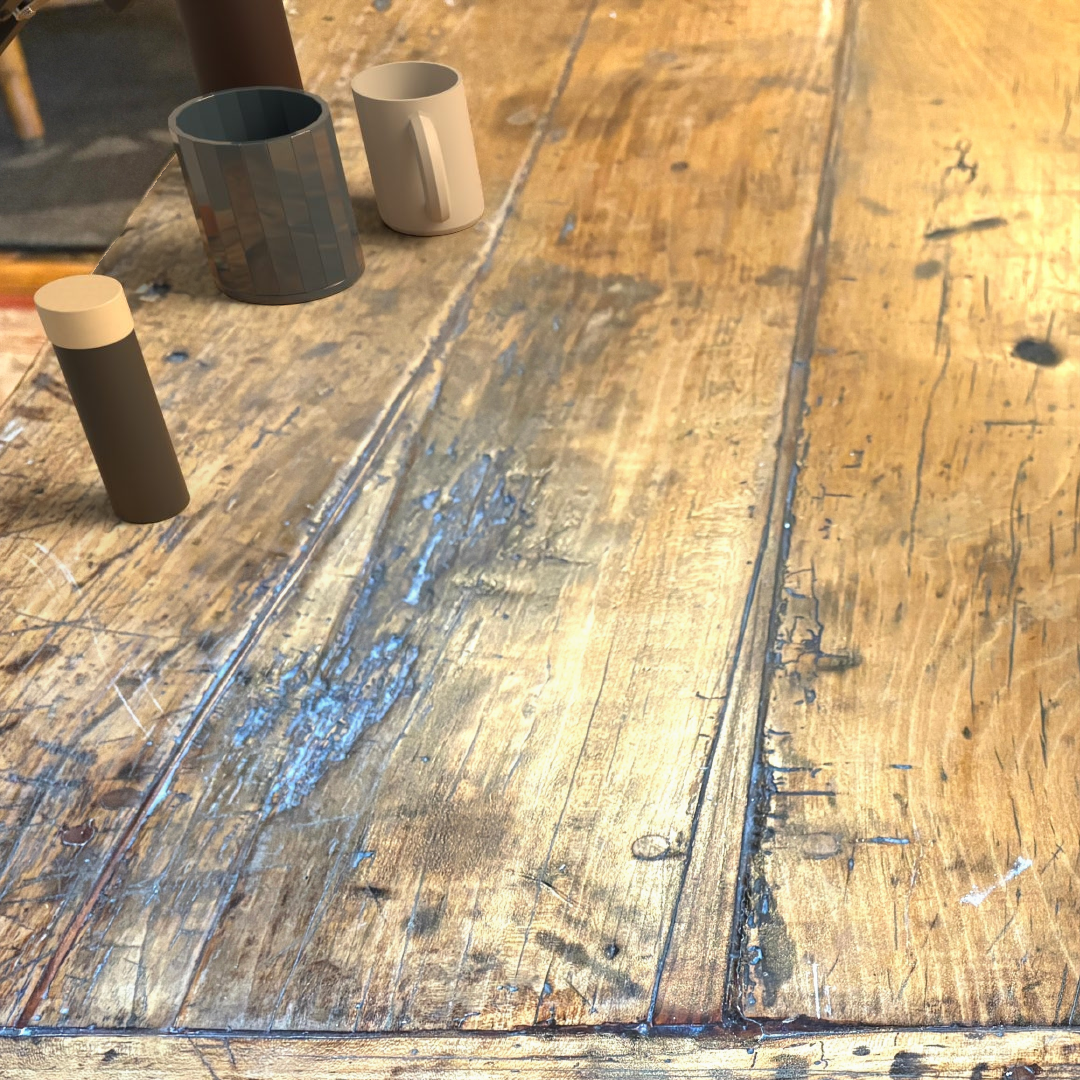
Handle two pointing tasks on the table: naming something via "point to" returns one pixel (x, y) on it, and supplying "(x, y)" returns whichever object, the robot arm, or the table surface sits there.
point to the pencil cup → (268, 193)
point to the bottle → (239, 44)
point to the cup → (419, 146)
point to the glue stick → (113, 395)
